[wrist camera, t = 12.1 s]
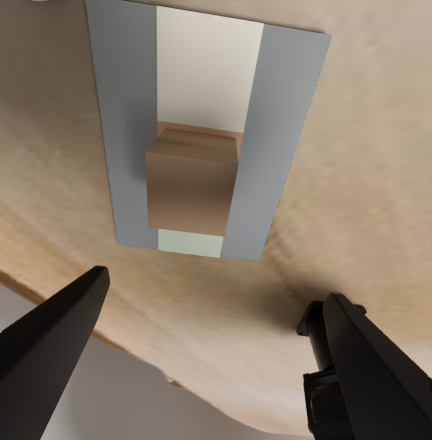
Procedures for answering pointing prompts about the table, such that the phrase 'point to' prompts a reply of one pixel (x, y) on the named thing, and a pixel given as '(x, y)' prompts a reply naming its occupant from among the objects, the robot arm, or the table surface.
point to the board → (200, 110)
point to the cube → (190, 181)
